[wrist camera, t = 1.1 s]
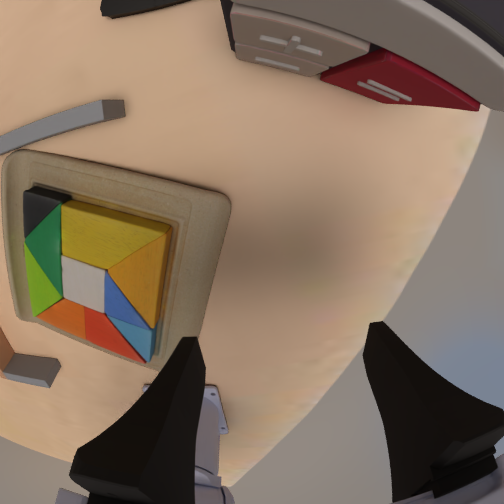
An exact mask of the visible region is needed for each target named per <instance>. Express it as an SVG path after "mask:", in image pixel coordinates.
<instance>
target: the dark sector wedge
mask: <svg viewBox="0 0 504 504" xmlns="http://www.w3.org/2000/svg"><path fill="white" fill-rule="evenodd" d="M187 1H190V0H102V2H101V7H100V10H101V12H102V16H107V17H111V18H112V19H114V18H120V17H125V16H130V15H135V14H140V13H144V12H149V11H153V10H157V9H161V8H165V7H169V6H173V5H176V4H180V3H183V2H187Z"/></svg>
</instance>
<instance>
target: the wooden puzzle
mask: <svg viewBox="0 0 504 504" xmlns="http://www.w3.org/2000/svg"><path fill="white" fill-rule="evenodd" d="M1 203H2V225H3V238H4V248H5V257H6V264H7V271H8V277H9V283H10V289H11V294H12V299H13V304H14V309H15V313H16V316H17V317H18V318H19V319H21V320H23V321H27V322H35V323H38V324H41V325H43V326H45V327H47V328H49V329H51V330H54V331H56V332H58V333H60V334H62V335H65V336H67V337H69V338H72V339H74V340H76V341H79V342H81V343H83V344H86V345H88V346H91V347H93V348H96V349H98V350H101V351H103V352H106V353H108V354H111V355H114V356H116V357H119V358H122V359H124V360H127V361H130V362H133V363H136V364H139V365H141V366H144V367H147V368H150V369H153V370H156V371H161V370H162V368H163V367H164V365H165V364H166V362H167V361H168V359H169V357H170V356H171V354H172V353H173V351H174V349H175V348H176V346H177V344H178V343H179V341H180V339H181V338H182V337H193V336H197V338H199V334H200V330H201V326H202V322H203V318H204V314H205V310H206V306H207V302H208V298H209V294H210V290H211V286H212V282H213V278H214V274H215V270H216V267H217V263H218V259H219V255H220V251H221V247H222V244H223V240H224V236H225V232H226V229H227V225H228V221H229V217H230V213H231V202H230V200H229V198H228V197H227V196H225V195H223V194H221V193H218V192H214V191H209V190H204V189H200V188H196V187H192V186H189V185H185V184H181V183H177V182H173V181H169V180H165V179H161V178H157V177H153V176H149V175H145V174H141V173H136V172H132V171H128V170H124V169H119V168H115V167H111V166H106V165H102V164H98V163H93V162H89V161H84V160H80V159H75V158H70V157H66V156H61V155H56V154H52V153H47V152H41V151H35V150H27V149H22V150H17V151H15V152H13V153H11V154H10V155H9V156H8V157H7V158H6V159H5V161H4V163H3V165H2V174H1Z"/></svg>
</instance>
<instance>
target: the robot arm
mask: <svg viewBox="0 0 504 504" xmlns="http://www.w3.org/2000/svg"><path fill="white" fill-rule="evenodd" d="M363 359H364V364H365V369H366V373H367V377H368V380H369V383H370V385H371V389H372V391H373V394H374V397H375V400H376V403H377V406H378V409H379V411H380V414H381V418H382V421H383V425H384V430H385V435H386V440H387V446H388V453H389V459H390V468H391V479H392V502H393V503H391V504H504V454H502V455H500V456H499V457H497V458H496V459H495V458H494V455H493V454H494V453H496V449H495V447H494V445H495V444H496V443H497V442H498V441H499V440H500V439H501V438H502V437H503V436H504V411H503V409H501V408H499V407H496V406H494V405H491V404H489V403H486V402H483V401H482V400H480V399H478V398H476V397H474V396H472V395H470V394H468V393H466V392H464V391H463V390H461V389H459V388H458V387H456V386H455V385H453V384H452V383H450V382H449V381H447V380H446V379H444V378H443V377H442V376H441V375H439V374H438V373H437V372H435V371H434V370H433V369H432V368H430V367H429V366H428V365H427V364H426V363H425V362H423V361H422V360H421V359H420V358H419V357H418V356H417V355H416V354H415V353H414V352H413V351H412V350H411V349H410V348H409V347H408V346H407V345H406V344H405V343H404V342H403V341H402V340H401V339H400V338H399V337H398V336H397V335H396V334H395V333H394V332H393V331H392V330H391V329H390V328H389V327H388V326H387V325H386V324H385V323H384V322H383V321H380V322H373V323H370V325H369V329H368V334H367V339H366V343H365V347H364V352H363ZM205 374H206V367H205V363H204V360H203V356H202V353H201V349H200V346H199V342H198V338H197V336H193V337H182V338H181V339H180V341H179V343H178V344H177V346H176V348H175V349H174V351H173V353H172V354H171V356H170V357H169V359H168V361H167V362H166V364H165V365H164V367H163V368H162V370H161V371H160V372H159V374H158V375H157V377H156V378H155V379H154V381H153V382H152V383H151V385H144V386H143V392H144V394H143V395H142V396H141V397H140V398H139V399H138V400H137V402H136V403H135V404H134V405H133V406H132V407H131V408H130V409H129V410H128V411H127V412H126V413H125V414H124V415H123V416H122V417H121V418H120V419H118V420H117V421H116V422H115V423H114V424H113V425H111V426H110V427H109V428H108V429H106V430H105V431H104V432H102V433H101V434H100V435H99V436H97V437H96V438H94V439H93V440H91V441H89V442H88V443H86V444H85V445H83V446H82V447H80V448H78V449H77V451H76V454H75V456H74V460H73V463H72V466H71V470H70V473H69V476H70V478H71V479H72V480H73V481H74V482H75V483H77V484H78V485H80V486H81V487H83V488H84V489H86V490H87V491H89V492H90V494H89V498H88V497H86V496H83V495H81V494H78V493H74V492H72V491H69V490H66V489H63V488H59V491H58V495H57V498H56V502H55V504H235V502H234V498H233V495H232V494H231V492H230V491H229V489H228V488H227V487H226V486H221V477H220V476H217V475H218V469H219V445H220V434H227V433H228V427H227V423H226V420H225V416H224V412H223V409H222V405H221V401H220V397H219V393H218V389H217V387H215V386H205Z"/></svg>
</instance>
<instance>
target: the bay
mask: <svg viewBox="0 0 504 504" xmlns="http://www.w3.org/2000/svg"><path fill="white" fill-rule="evenodd" d="M122 117H125V109H124V100H99V101H96V102H92V103H89V104H85V105H82V106H79V107H75V108H72V109H69V110H66V111H63V112H60V113H57V114H54V115H52V116H49V117H46V118H43V119H41V120H38V121H36V122H33V123H30V124H28V125H25V126H23V127H21V128H18V129H16V130H13V131H11V132H9V133H7V134H4V135H2V136H0V155H3V154H5V153H8V152H10V151H13V150H15V149H18V148H21V147H23V146H26V145H29V144H32V143H35V142H37V141H40V140H43V139H46V138H49V137H52V136H55V135H59V134H62V133H65V132H68V131H72V130H75V129H79V128H82V127H86V126H90V125H93V124H97V123H101V122H105V121H109V120H113V119H118V118H122ZM60 368H61V365H60V363H59V362H58V360H57V359H54V358H45V357H37V356H30V355H23V354H16V353H14V351H13V349H12V348H11V346H10V344H9V343H8V341H7V339H6V337H5V335H4V334H3V332H2V330H1V328H0V376H1V377H2V378H5V379H9V380H13V381H17V382H22V383H26V384H31V385H36V386H41V387H47V388H50V387H51V385H52V383H53V381H54V379H55V377H56V375H57V373H58V372H59V370H60Z"/></svg>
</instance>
